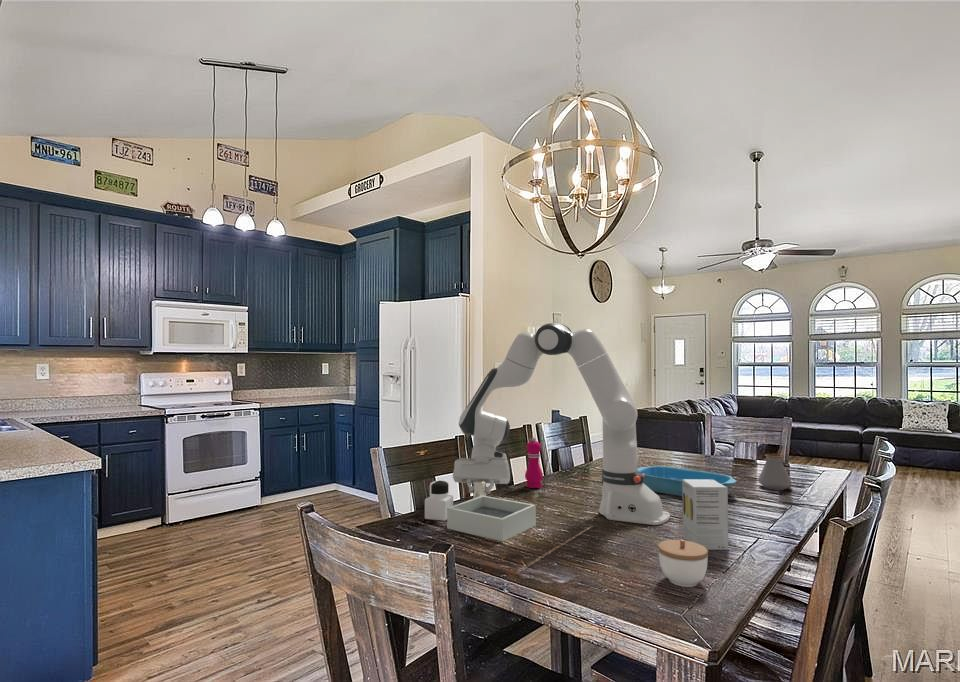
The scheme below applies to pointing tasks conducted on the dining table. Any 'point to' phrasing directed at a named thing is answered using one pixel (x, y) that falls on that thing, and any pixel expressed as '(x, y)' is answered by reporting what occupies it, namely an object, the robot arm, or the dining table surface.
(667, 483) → the casserole dish
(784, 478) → the coffee pot
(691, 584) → the lidded jar
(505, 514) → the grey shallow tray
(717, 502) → the supplement box
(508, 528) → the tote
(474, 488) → the tin can
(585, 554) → the dining table surface
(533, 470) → the pepper mill
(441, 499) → the medicine bottle
